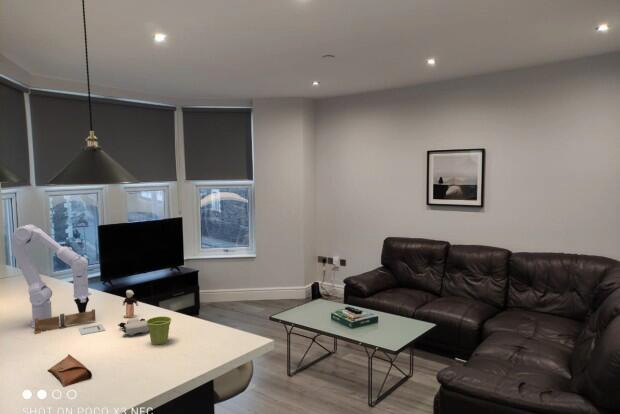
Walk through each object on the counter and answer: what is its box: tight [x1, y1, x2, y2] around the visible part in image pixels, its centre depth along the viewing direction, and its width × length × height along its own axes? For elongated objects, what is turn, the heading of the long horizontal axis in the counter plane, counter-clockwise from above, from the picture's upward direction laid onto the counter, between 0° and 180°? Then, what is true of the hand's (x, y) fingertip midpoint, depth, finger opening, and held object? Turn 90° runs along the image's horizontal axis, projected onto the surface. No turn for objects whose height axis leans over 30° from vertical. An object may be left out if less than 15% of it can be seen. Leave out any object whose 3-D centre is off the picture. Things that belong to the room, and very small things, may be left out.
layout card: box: [78, 323, 106, 336], centre depth 182 cm, size 9×9×1 cm
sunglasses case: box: [47, 354, 93, 388], centre depth 141 cm, size 18×7×7 cm
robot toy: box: [117, 317, 149, 336], centre depth 180 cm, size 12×4×15 cm
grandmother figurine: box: [122, 289, 139, 319], centre depth 197 cm, size 8×4×13 cm, turn 92°
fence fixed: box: [33, 315, 68, 335], centre depth 182 cm, size 5×12×6 cm, turn 124°
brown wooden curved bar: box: [59, 308, 96, 326], centre depth 188 cm, size 14×2×5 cm, turn 124°
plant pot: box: [145, 315, 172, 345], centre depth 168 cm, size 9×9×9 cm
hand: (82, 314), depth 193 cm, fingers closed
